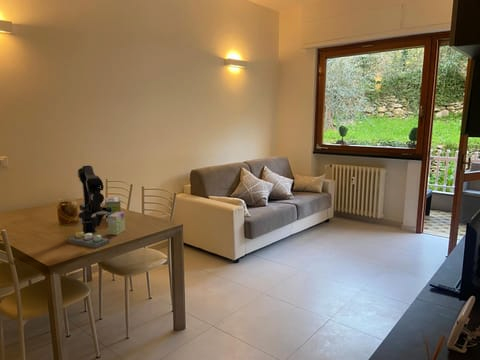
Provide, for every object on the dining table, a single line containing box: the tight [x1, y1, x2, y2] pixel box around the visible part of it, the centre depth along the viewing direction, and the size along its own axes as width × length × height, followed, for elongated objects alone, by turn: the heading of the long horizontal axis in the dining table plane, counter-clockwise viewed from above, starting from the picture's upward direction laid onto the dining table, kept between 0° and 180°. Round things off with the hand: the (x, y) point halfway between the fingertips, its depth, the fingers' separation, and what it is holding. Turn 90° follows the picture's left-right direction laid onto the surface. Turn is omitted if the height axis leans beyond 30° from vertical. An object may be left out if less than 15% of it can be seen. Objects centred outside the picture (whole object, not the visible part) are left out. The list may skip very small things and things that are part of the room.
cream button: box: [84, 233, 93, 240], centre depth 204 cm, size 4×4×3 cm
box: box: [107, 211, 126, 236], centre depth 222 cm, size 10×6×12 cm, turn 171°
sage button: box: [92, 234, 102, 243], centre depth 201 cm, size 4×4×3 cm
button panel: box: [67, 235, 111, 249], centre depth 205 cm, size 10×22×2 cm, turn 64°
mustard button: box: [75, 230, 85, 239], centre depth 207 cm, size 4×4×3 cm
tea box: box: [104, 196, 122, 224], centre depth 249 cm, size 15×10×15 cm
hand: (96, 227), depth 200 cm, fingers closed
